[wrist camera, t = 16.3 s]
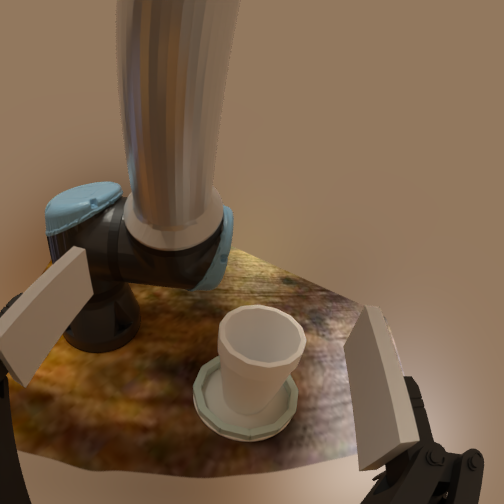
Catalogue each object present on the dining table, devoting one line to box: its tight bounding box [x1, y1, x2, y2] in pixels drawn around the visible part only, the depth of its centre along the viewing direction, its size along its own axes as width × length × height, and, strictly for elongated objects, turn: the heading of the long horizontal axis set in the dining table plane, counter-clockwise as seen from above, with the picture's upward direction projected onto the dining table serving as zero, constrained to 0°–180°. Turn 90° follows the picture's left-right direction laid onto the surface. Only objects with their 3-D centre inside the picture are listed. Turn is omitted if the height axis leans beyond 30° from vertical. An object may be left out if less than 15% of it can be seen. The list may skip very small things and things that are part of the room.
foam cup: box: [218, 305, 306, 415], centre depth 32 cm, size 10×9×13 cm
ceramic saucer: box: [193, 355, 299, 442], centre depth 35 cm, size 14×14×2 cm
